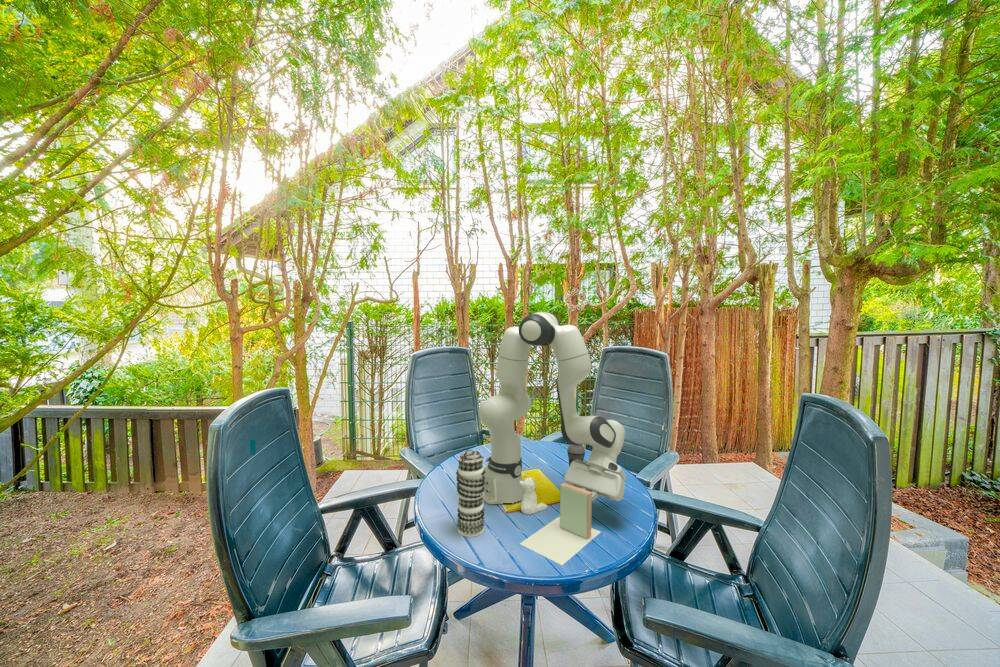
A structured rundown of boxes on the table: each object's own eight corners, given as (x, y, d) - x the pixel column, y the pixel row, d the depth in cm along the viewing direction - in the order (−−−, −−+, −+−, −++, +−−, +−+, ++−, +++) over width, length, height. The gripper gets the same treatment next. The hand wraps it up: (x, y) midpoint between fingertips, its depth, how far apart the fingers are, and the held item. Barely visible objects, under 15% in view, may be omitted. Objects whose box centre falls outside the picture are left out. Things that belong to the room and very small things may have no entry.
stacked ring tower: (470, 518, 135) (470, 445, 134) (491, 528, 129) (491, 452, 128) (450, 530, 128) (449, 453, 127) (471, 541, 122) (471, 460, 121)
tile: (559, 527, 129) (559, 485, 128) (563, 524, 130) (563, 482, 130) (587, 539, 122) (588, 494, 121) (591, 536, 124) (591, 492, 123)
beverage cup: (568, 474, 171) (569, 427, 170) (586, 477, 168) (586, 429, 167) (565, 481, 164) (565, 433, 163) (583, 484, 162) (583, 435, 160)
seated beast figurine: (548, 509, 142) (548, 475, 141) (537, 520, 134) (538, 485, 134) (524, 502, 147) (524, 470, 146) (512, 513, 139) (512, 479, 138)
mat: (519, 545, 120) (519, 543, 120) (560, 517, 137) (560, 515, 136) (562, 567, 110) (562, 565, 110) (601, 533, 127) (601, 531, 127)
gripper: (570, 453, 142) (554, 489, 135) (625, 469, 128) (610, 510, 122) (576, 462, 146) (561, 498, 139) (631, 478, 132) (617, 519, 125)
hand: (585, 504), depth 130 cm, fingers closed
